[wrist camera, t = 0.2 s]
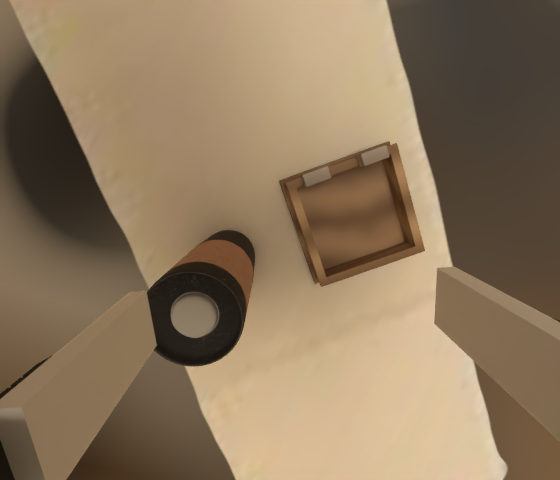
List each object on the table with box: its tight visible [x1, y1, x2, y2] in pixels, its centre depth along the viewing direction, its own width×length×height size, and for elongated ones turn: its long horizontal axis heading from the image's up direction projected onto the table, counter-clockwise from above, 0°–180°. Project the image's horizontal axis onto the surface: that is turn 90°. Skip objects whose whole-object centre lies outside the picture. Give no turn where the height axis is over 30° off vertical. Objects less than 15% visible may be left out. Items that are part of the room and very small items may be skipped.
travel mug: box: [147, 230, 255, 366], centre depth 31 cm, size 8×8×20 cm
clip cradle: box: [280, 142, 425, 287], centre depth 37 cm, size 15×15×6 cm
